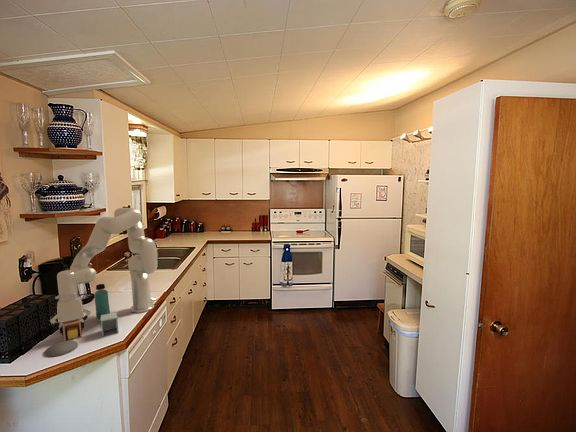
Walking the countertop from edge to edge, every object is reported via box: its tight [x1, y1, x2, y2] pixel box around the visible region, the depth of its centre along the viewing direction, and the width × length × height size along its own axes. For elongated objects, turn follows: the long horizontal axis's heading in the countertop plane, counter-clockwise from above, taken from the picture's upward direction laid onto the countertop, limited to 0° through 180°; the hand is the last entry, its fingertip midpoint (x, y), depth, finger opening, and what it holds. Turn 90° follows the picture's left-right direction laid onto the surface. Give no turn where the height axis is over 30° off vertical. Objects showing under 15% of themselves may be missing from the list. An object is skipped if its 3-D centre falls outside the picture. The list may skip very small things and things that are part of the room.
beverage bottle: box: [94, 283, 111, 321], centre depth 168 cm, size 6×7×20 cm
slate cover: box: [100, 312, 119, 337], centre depth 157 cm, size 7×7×8 cm
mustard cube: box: [67, 326, 79, 340], centre depth 153 cm, size 4×4×4 cm
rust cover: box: [63, 319, 83, 342], centre depth 153 cm, size 7×7×8 cm
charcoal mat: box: [44, 340, 79, 358], centre depth 141 cm, size 12×12×1 cm
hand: (72, 331), depth 153 cm, fingers closed on rust cover, 7 cm apart
